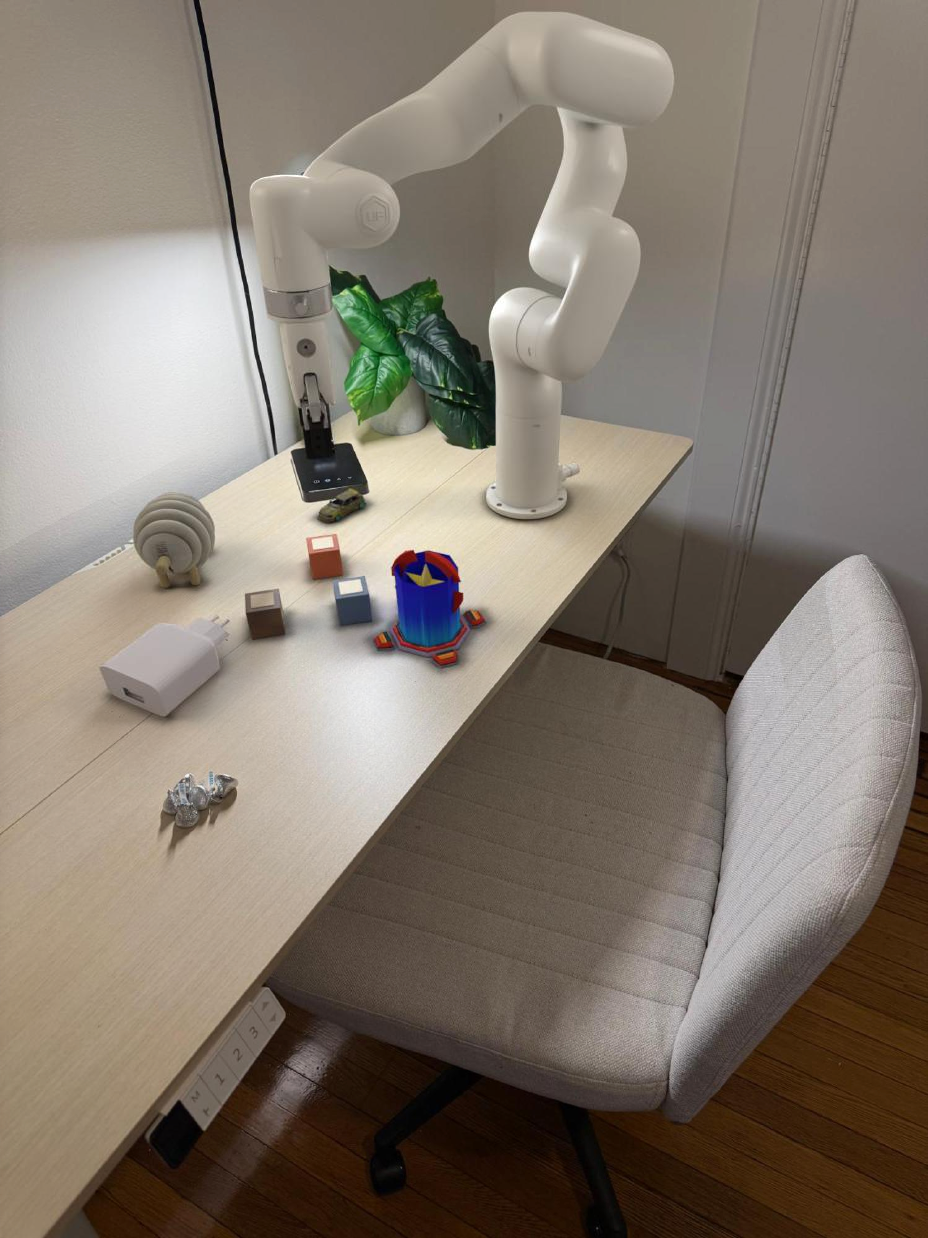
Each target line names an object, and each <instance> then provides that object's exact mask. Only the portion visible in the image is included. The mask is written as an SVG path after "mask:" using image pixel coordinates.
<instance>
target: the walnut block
mask: <svg viewBox="0 0 928 1238" xmlns="http://www.w3.org/2000/svg"><path fill="white" fill-rule="evenodd" d="M244 604H245V605H244V606H245V607H244V609H245V616H246V621H247V625H248V630H249V633H250V638H251V640H258V639H263V638H270V637H277V636H285V635H286V634H287V633H286V623H285V622H286V621H285V613H284V607H283V603H282V599H281V593H280V589H279V588H274V589H267V590H260V591H253V592H247V593H244Z"/></svg>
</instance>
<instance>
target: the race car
mask: <svg viewBox="0 0 928 1238" xmlns="http://www.w3.org/2000/svg"><path fill="white" fill-rule="evenodd" d="M366 505H367V502H366V499H365V497H364V495H363V494H362V493H360V491H358V490H356V489H354V488H351V487H349V488H348V489H347V490H345V491H342V492H341V493H338V495H336V496H334V497H333V498H332V499H329V502H328V503H327V504H325V505H324V506H322V507H321V508H320V510H319V512H318V515H317V517H316V518H317V519H318V520H320V521H321V522H324V523H326V524H328V523H329V524H330V523H334V522H335V521H339V520H340V519H341V518H342V517H343V516H345V515H347V514H349V513H351V512H353V511H356V510H358V509H363V508H364V506H366Z"/></svg>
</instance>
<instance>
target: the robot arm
mask: <svg viewBox="0 0 928 1238" xmlns="http://www.w3.org/2000/svg"><path fill="white" fill-rule="evenodd" d="M674 86H675V74H674V67H673V63H672V60H671V58H670V57H669V54H668V52H667V51H666V50H665V49H664V47H662V46H661V45H660V44H659V43H657V42H656V41H654V40H652V39H649V38H647V37H643V36H641V35H638V34H636V33H635V34H634V33H631V32H628V31H626V30H623V29H620V28H617V27H615V26H611V25H608V24H605V23H603V22H600V21H597V20H595V19H591V18H589V17H585V16H583V15H580V14H576V13H571V12H567V11H521V12H516V13H513V14H511V15H508V16H507V17H504V18H503V19H502V20H500V21H498V23H496V25H494V26H493V27H492V28H491V29H489V30H488V31H487V32H486V33H484V35H482V36H481V37H480V38H479V39H478V40H477V41H475V42H474V43H473V44H472V45H471V46H469V48H468V49H466V50H465V51H464V52H463V53H462V54H460V55H459V56H458V57H457V58H455V60H453V61H452V63H450V64H449V65H447V67H446V68H444V69H443V70H442V71H441V72H439V73H438V74H437V75H436V76H435V77H433V79H431V80H430V81H429V82H428V83H427V84H426V85H424V86H423V87H421V88H420V89H418V90H416V91H415V92H413V93H411V94H409V95H407V96H405V97H403V98H401V99H399V100H397V101H396V102H395V103H393V104H391V105H390V106H388V107H386V108H384V109H383V110H380V111H379V112H377V113H375V114H373V115H371V116H370V117H368V118H366V119H365V120H363V121H361V122H359V123H358V124H357V125H355V126H354V127H352V128H351V129H350V130H348V131H347V132H345V133H344V134H343V135H342V136H341V137H339V138H338V139H337V140H336V141H335V142H334V143H332V144H331V145H330V146H329V147H328V148H327V149H325V151H323V152H322V153H321V154H320V155H318V156H317V157H316V158H315V159H314V160H313V161H311V162H312V163H310V165H309V166H308V167H307V168H306V170H305V171H304V173H303V174H302V175H300V174H299V175H297V174H277V175H270V176H264V177H261V178H259V179H256V180H255V181H254V182H253V183H251V186H250V187H249V192H248V193H249V197H248V198H249V206H250V212H251V219H252V226H253V233H254V238H255V239H254V240H255V246H256V252H257V259H258V265H259V271H260V277H261V278H260V279H261V284H262V291H263V299H264V304H265V311H266V316H267V318H268V319H270V320H271V321H274V322H277V323H278V327H279V333H280V339H281V346H282V351H283V359H284V363H285V368H286V373H287V377H288V383H289V385H290V389H291V393H292V396H293V400H294V405H295V406H296V407H297V409H298V416H299V424H300V426H301V427H302V435H303V440H304V449H305V456H306V459H307V460H310V461H311V460H318V459H328V458H329V459H330V458H333V457H334V450H333V442H332V440H333V439H332V432H331V425H330V424H329V421H328V413H327V407H326V405H329V404H330V405H331V406H334V405H336V404H337V395H336V388H335V379H334V371H333V370H334V369H333V363H332V362H333V361H332V354H331V353H332V352H331V346H330V338H329V331H328V327H327V325H328V324H327V320H326V319H327V318H329V317H331V316H332V315H333V314H334V304H333V294H332V293H333V292H332V285H331V284H332V283H331V276H330V275H331V274H330V265H329V254H328V250H330V249H351V250H353V249H354V250H355V249H356V250H360V249H361V250H363V249H365V250H366V249H371V248H375V247H378V246H380V245H382V244H384V243H386V242H387V241H388V240H389V239H390V238H391V237H392V236H393V235H394V233H395V232H396V230H397V228H398V225H399V222H400V217H401V207H400V202H399V198H398V196H397V195H396V194H397V193H396V192H395V190H394V189H393V188H392V186H391V185H393V184H395V183H397V182H399V181H400V180H402V179H405V178H408V177H410V176H413V175H416V174H419V173H424V172H429V171H434V170H440V169H445V168H449V167H452V166H454V165H457V164H461V163H463V162H465V161H467V160H469V159H470V158H472V157H473V156H475V154H476V153H478V152H479V151H480V150H481V149H482V148H483V147H484V146H486V145H487V143H489V142H490V141H491V140H492V139H493V138H494V137H495V136H496V135H497V134H499V133H500V132H501V131H502V130H503V129H504V128H505V127H507V126H508V125H509V124H510V123H511V122H513V121H514V120H515V119H516V118H517V117H519V116H520V115H521V114H522V113H523V112H524V111H526V110H527V109H528V108H529V107H531V106H533V105H537V106H539V105H540V106H545V107H547V106H548V107H554V108H556V110H557V114H558V116H559V119H560V124H561V129H562V135H563V153H562V154H563V155H562V158H561V163H560V166H559V169H558V172H557V175H556V177H555V181H554V183H553V185H552V187H551V190H550V193H549V195H548V198H547V200H546V203H545V205H544V208H543V210H542V213H541V215H540V218H539V219H538V223H537V225H536V227H535V230H534V233H533V235H532V238H531V241H530V244H529V250H528V260H529V264H530V267H531V269H532V270H533V272H534V273H535V274H536V275H537V276H539V277H540V278H542V279H543V280H545V281H547V282H549V283H552V284H554V285H556V286H559V287H562V288H564V289H566V290H565V293H564V295H563V298H561V297H560V296H557V295H554V294H551V293H549V292H546V291H544V290H542V289H538V288H534V287H526V286H522V287H516V288H512V289H510V290H507V291H506V292H505V293H503V294H502V295H501V296H500V297H499V298H498V299H497V300H496V302H495V303H494V305H493V307H492V310H491V312H490V316H489V321H488V322H489V323H488V338H489V345H490V351H491V356H492V362H493V367H494V379H495V381H494V382H495V481H494V482H493V483H491V484H490V485H489V487H488V488H487V490H486V491H485V493H486V494H485V500H486V504H487V505H488V507H489V508H490V509H491V510H492V511H493V512H495V513H497V514H499V515H500V516H501V515H502V516H504V517H507V518H511V519H516V520H539V519H542V518H547V517H550V516H553V515H555V514H557V513H558V512H560V511H561V510H562V509H564V507H565V506H566V504H567V502H568V492H567V490H566V488H565V487H564V485H563V483H564V482H566V480H567V479H569V478H571V477H573V476H575V475H578V474H579V473H580V471H581V467H580V466H579V464H578V463H577V462H572V463H569V464H567V465H565V466H563V463H562V462H561V461H560V459H559V458H560V443H561V442H560V440H561V439H560V438H561V421H562V420H561V419H562V407H563V406H562V405H563V404H562V403H563V386H562V383H574V382H577V381H580V380H582V379H583V378H585V377H586V376H587V375H589V374H590V373H591V372H592V371H593V370H594V368H595V367H596V366H597V364H598V363H599V361H600V359H601V357H602V356H603V354H604V353H605V350H606V348H607V346H608V343H609V342H610V339H611V337H612V335H613V333H614V331H615V328H616V326H617V324H618V322H619V320H620V317H621V315H622V313H623V311H624V309H625V306H626V304H627V302H628V300H629V297H630V296H631V293H632V291H633V290H634V289H633V288H634V286H635V284H636V281H637V278H638V275H639V270H640V266H641V258H642V256H641V255H642V253H641V251H642V250H641V244H640V240H639V237H638V235H637V233H636V231H635V229H634V228H633V227H632V226H631V225H630V224H629V223H627V222H626V221H624V220H622V219H620V218H618V217H614V216H613V214H614V211H615V210H616V207H617V206H616V205H617V204H618V201H619V198H620V195H621V193H622V190H623V189H624V188H623V187H624V185H625V181H626V176H627V172H628V152H627V145H626V140H625V135H624V131H623V128H625V129H642V128H644V127H647V126H648V125H651V124H653V123H654V122H655V121H656V120H657V119H658V118H660V116H661V115H662V114H663V113H664V112H665V111H666V109H667V106H668V105H669V103H670V101H671V98H672V95H673V90H674Z"/></svg>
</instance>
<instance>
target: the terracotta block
mask: <svg viewBox="0 0 928 1238" xmlns="http://www.w3.org/2000/svg"><path fill="white" fill-rule="evenodd" d="M306 546H307V547H306V548H307V554H308V559H309V565H310V572H311V577H312V580H318V579H324V578H332V577H339V576H343V575H344V569H343V562H342V555H341V550H340V544H339V539H338V534H337V533H333V534H325V535H320V536H319V535H318V536H312V537H306Z"/></svg>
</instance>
